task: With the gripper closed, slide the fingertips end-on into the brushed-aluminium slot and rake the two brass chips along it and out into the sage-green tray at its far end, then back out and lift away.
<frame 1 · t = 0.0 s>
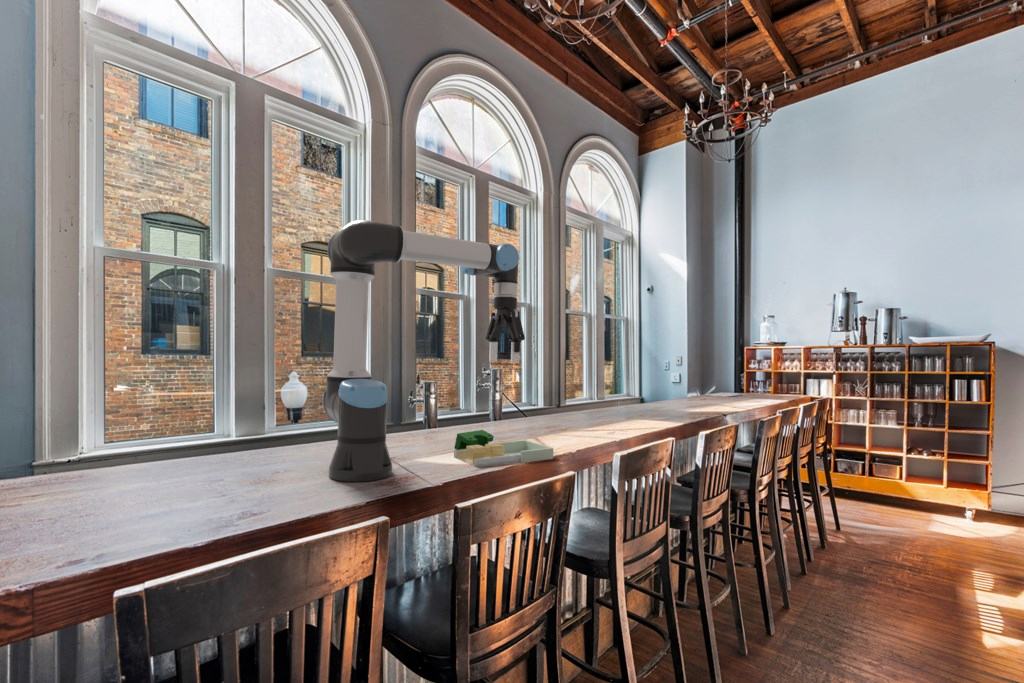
hand: (503, 362, 164), 28 cm above the table, fingers open, 13 cm apart
tray: (523, 458, 150), on the table
chip b: (494, 458, 145), point 1 cm above the table, touching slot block
chip a: (475, 460, 142), point 1 cm above the table, touching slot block
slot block: (486, 462, 143), on the table
clamp: (474, 452, 159), on the table
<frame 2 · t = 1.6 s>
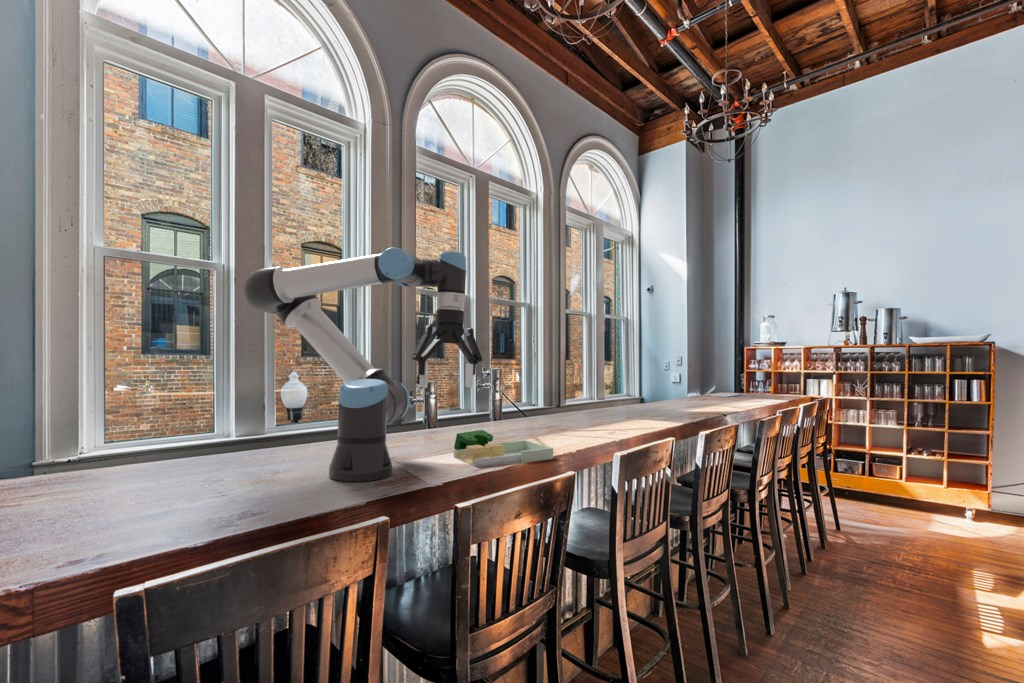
hand: (446, 387, 137), 22 cm above the table, fingers open, 13 cm apart
nothing on the table moved.
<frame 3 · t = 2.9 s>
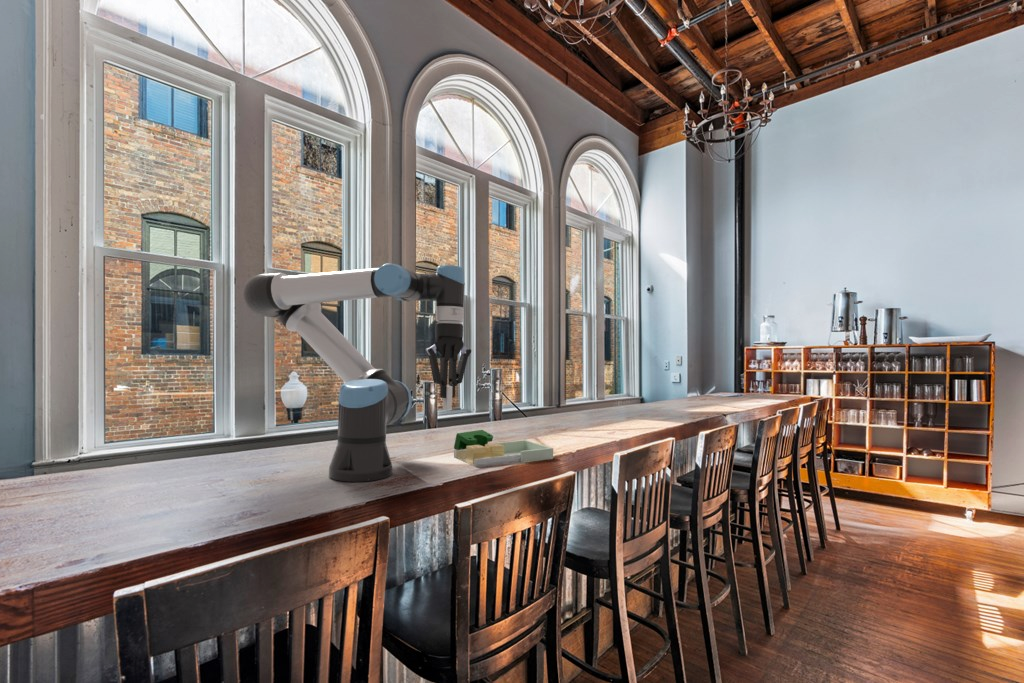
hand: (447, 409, 137), 15 cm above the table, fingers closed
nothing on the table moved.
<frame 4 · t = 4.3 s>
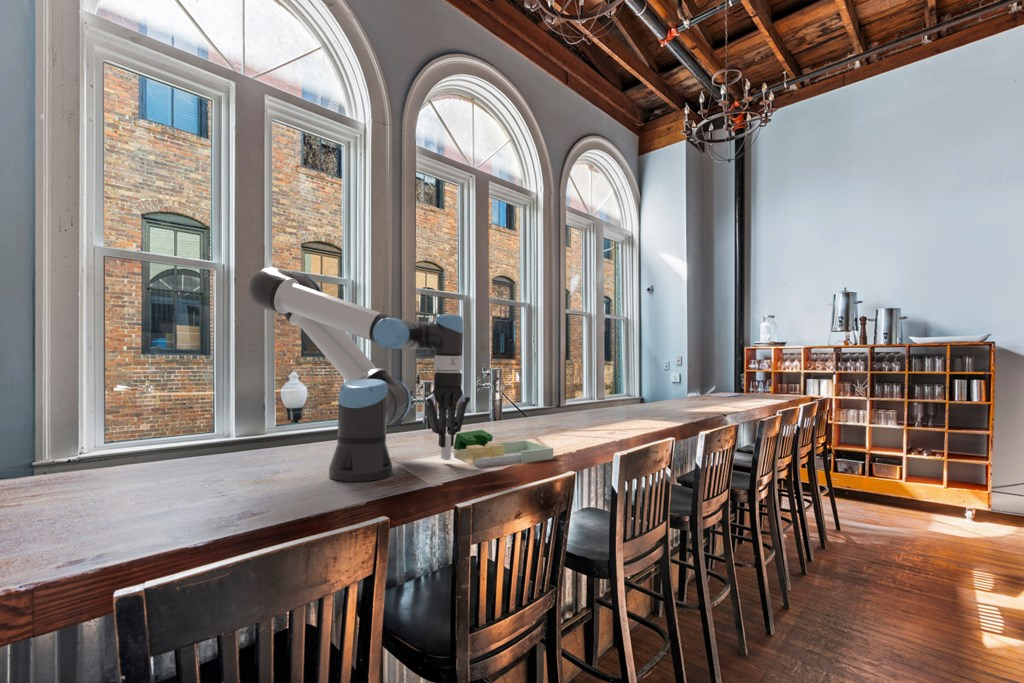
hand: (445, 458, 137), 2 cm above the table, fingers closed
nothing on the table moved.
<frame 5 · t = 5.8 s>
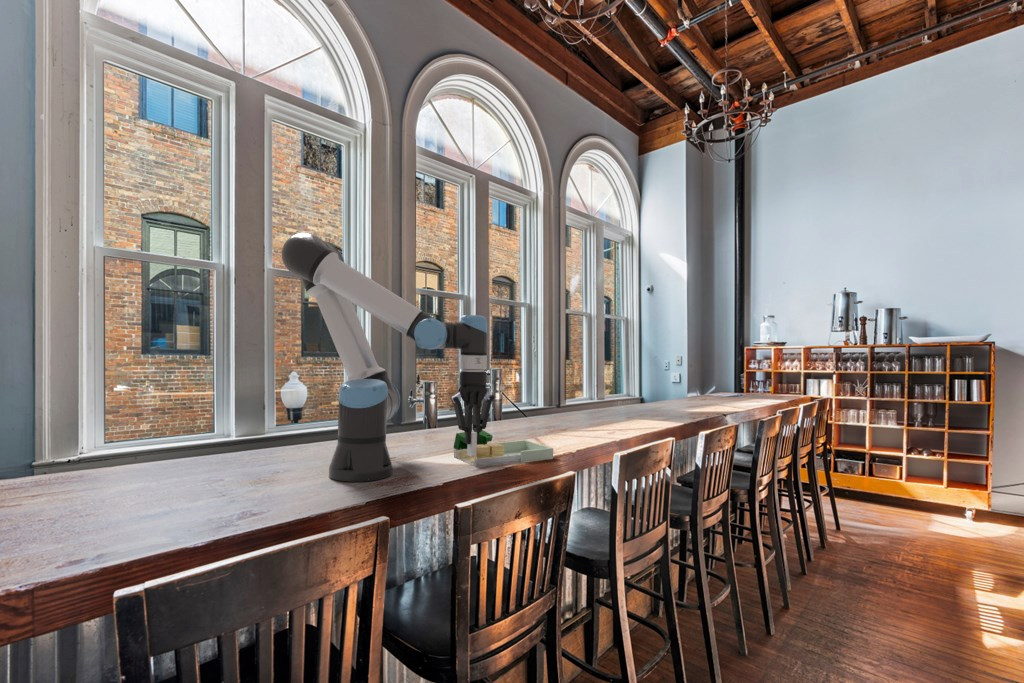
hand: (471, 455, 141), 3 cm above the table, fingers closed
chip a: (479, 460, 142), point 1 cm above the table, touching gripper, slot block
everything else where it was.
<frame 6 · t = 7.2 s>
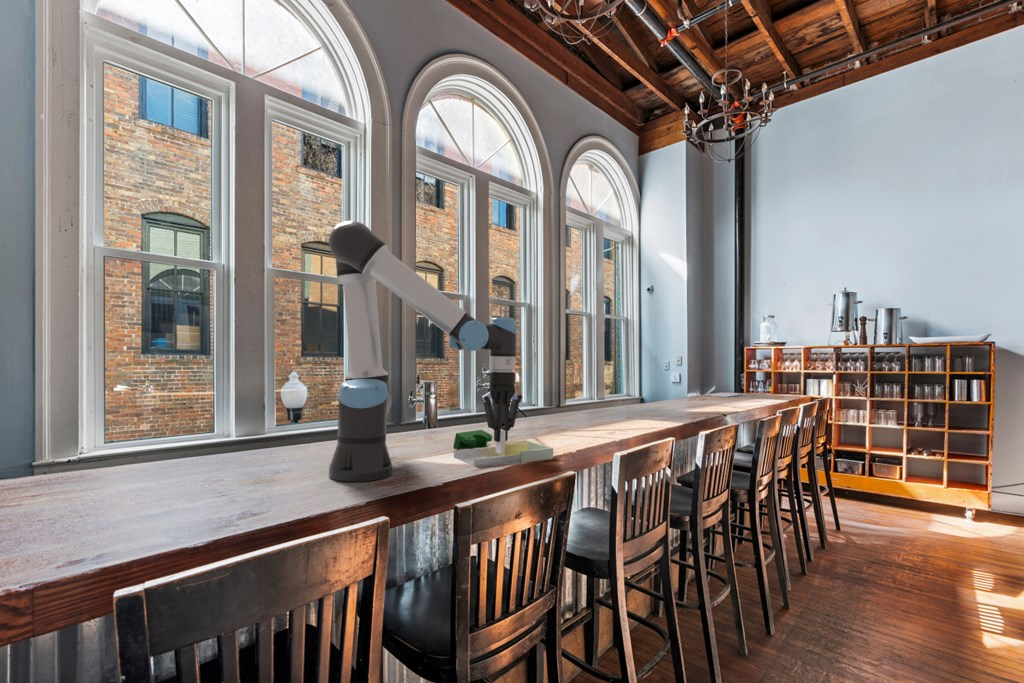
hand: (500, 452, 146), 2 cm above the table, fingers closed
chip b: (519, 455, 150), point 1 cm above the table, touching chip a
chip a: (507, 457, 147), point 1 cm above the table, touching chip b, gripper
everything else where it was.
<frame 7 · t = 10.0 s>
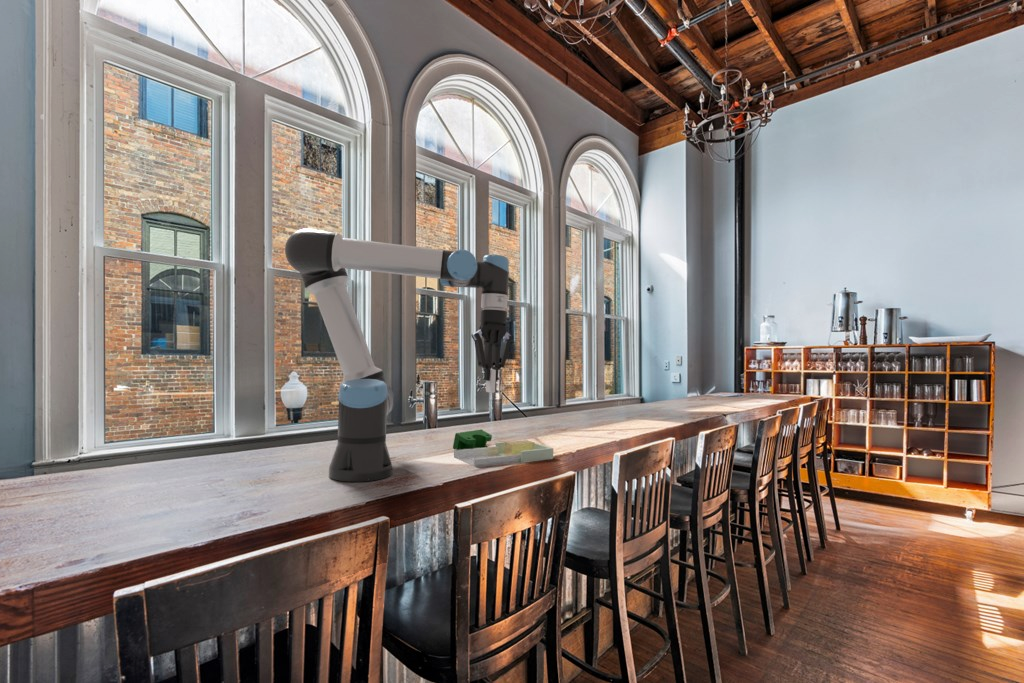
hand: (490, 392, 144), 20 cm above the table, fingers closed
chip b: (524, 455, 151), point 1 cm above the table, touching tray
chip a: (513, 456, 149), point 1 cm above the table, touching tray
everything else where it was.
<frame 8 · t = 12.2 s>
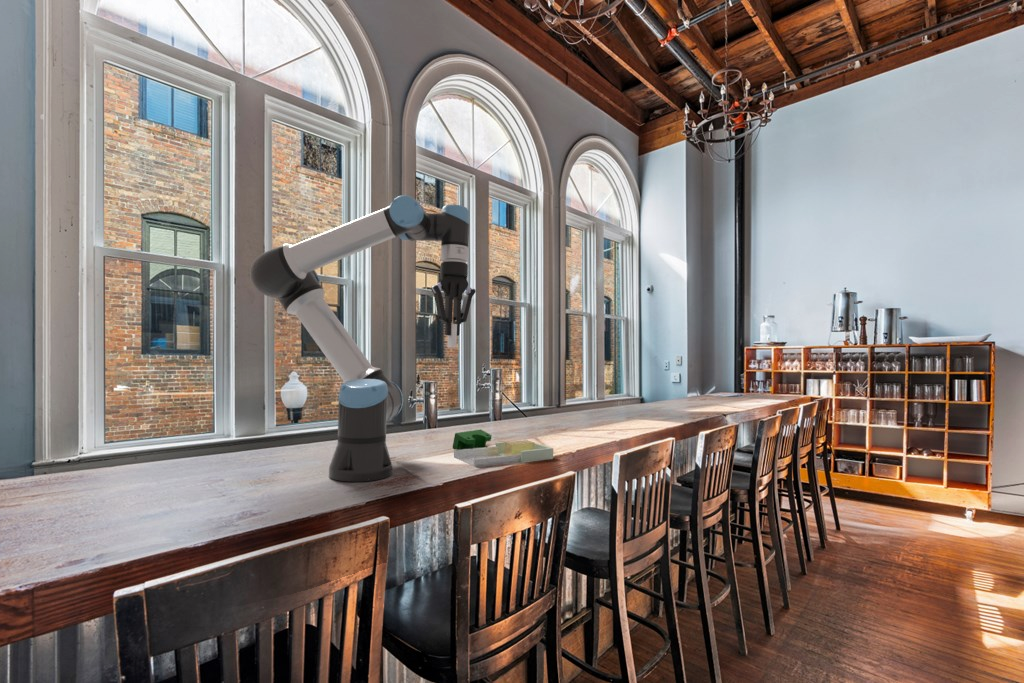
hand: (451, 347, 140), 32 cm above the table, fingers closed
nothing on the table moved.
at the end: chip a inside the target area on the tray (3.2 cm from its centre), point 0.8 cm above the tray's base; chip b inside the target area on the tray (0.8 cm from its centre), point 0.8 cm above the tray's base; chip a tilted 0° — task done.
